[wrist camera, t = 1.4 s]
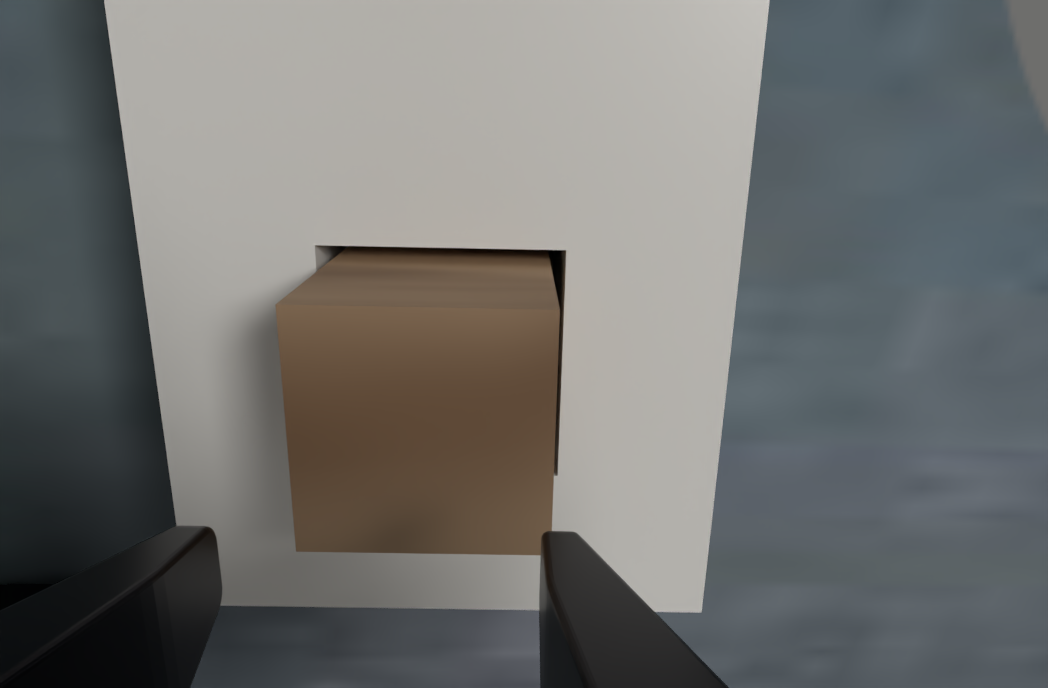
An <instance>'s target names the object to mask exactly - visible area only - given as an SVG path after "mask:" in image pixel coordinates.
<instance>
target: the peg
mask: <svg viewBox="0 0 1048 688" xmlns="http://www.w3.org/2000/svg"><path fill="white" fill-rule="evenodd" d="M275 306H276V318H277V330H278V342H279V354H280V366H281V378H282V390H283V402H284V414H285V426H286V438H287V450H288V462H289V474H290V486H291V498H292V510H293V522H294V534H295V546H296V552H349V553H415V554H482V555H541V537H542V535H543V533H545V532H547V531H552V511H553V484H554V457H555V430H556V403H557V376H558V349H559V322H560V308H559V303H558V298H557V293H556V288H555V283H554V278H553V273H552V268H551V263H550V258H549V253H548V250H526V249H476V248H426V247H375V246H348V247H347V248H346V249H345V250H343V251H342V252H341V253H340V254H338V255H337V256H336V257H335V258H333V259H332V260H331V261H329V262H328V263H327V264H326V265H324V266H323V267H322V268H321V269H319V270H318V271H317V272H316V273H314V274H313V275H312V276H311V277H309V278H308V279H307V280H306V281H304V282H303V283H302V284H301V285H299V286H298V287H297V288H296V289H294V290H293V291H292V292H290V293H289V294H288V295H287V296H285V297H284V298H283V299H282V300H280V301H279V302H278V303H277V304H275Z"/></svg>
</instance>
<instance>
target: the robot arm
mask: <svg viewBox="0 0 1048 688" xmlns="http://www.w3.org/2000/svg"><path fill="white" fill-rule="evenodd" d="M221 600H222V578H221V570H220V562H219V553H218V545H217V538H216V535H215V532H214V530H213V529H212V528H210V527H208V526H182V525H180V526H175V527H172V528H170V529H168V530H166V531H164V532H162V533H160V534H158V535H156V536H154V537H152V538H150V539H148V540H145V541H143V542H141V543H139V544H137V545H135V546H133V547H131V548H129V549H127V550H125V551H123V552H121V553H119V554H116V555H114V556H112V557H110V558H108V559H106V560H104V561H102V562H100V563H98V564H96V565H94V566H92V567H90V568H87V569H85V570H83V571H81V572H79V573H77V574H75V575H73V576H71V577H69V578H67V579H65V580H63V581H60V582H58V583H56V584H7V585H0V688H190V687H191V684H192V681H193V678H194V676H195V673H196V670H197V668H198V665H199V662H200V660H201V657H202V654H203V651H204V649H205V646H206V643H207V641H208V638H209V635H210V632H211V630H212V627H213V624H214V622H215V619H216V616H217V613H218V611H219V608H220V604H221ZM539 626H540V686H541V688H729V687H728V686H727V685H726V684H725V683H724V682H723V681H722V680H721V679H720V678H719V677H718V676H717V675H716V674H715V673H714V672H713V671H712V670H711V669H710V668H709V667H708V666H707V665H706V664H705V663H704V662H703V661H702V660H701V659H700V658H699V657H698V656H697V655H696V654H695V653H694V652H693V651H692V650H691V649H690V647H689V646H688V645H687V644H686V643H685V642H684V641H683V640H682V639H681V638H680V637H679V636H678V635H677V634H676V633H675V632H674V631H673V630H672V629H671V628H670V627H669V626H668V625H667V624H666V623H665V622H664V621H663V620H662V619H661V618H660V617H659V616H658V615H657V614H656V613H655V612H654V611H653V610H652V609H651V608H650V607H649V606H648V605H647V604H646V603H645V601H644V600H643V599H642V598H641V597H640V596H639V595H638V594H637V593H636V592H635V591H634V590H633V589H632V588H631V587H630V586H629V585H628V584H627V583H626V582H625V581H624V580H623V579H622V578H621V577H620V576H619V575H618V574H617V573H616V572H615V571H614V570H613V569H612V568H611V567H610V566H609V565H608V564H607V563H606V562H605V561H604V560H603V559H602V558H601V557H600V555H599V554H598V553H597V552H596V551H595V550H594V549H593V548H592V547H591V546H590V545H589V544H588V543H587V542H586V541H585V540H584V539H583V538H582V537H581V536H580V535H579V534H578V533H576V532H573V531H547V532H545V533H543V535H542V537H541V557H540V588H539Z"/></svg>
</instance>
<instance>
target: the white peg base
mask: <svg viewBox="0 0 1048 688" xmlns="http://www.w3.org/2000/svg"><path fill="white" fill-rule="evenodd" d="M769 1H770V0H104V4H105V11H106V18H107V25H108V33H109V40H110V47H111V54H112V62H113V69H114V76H115V84H116V91H117V98H118V105H119V113H120V120H121V127H122V134H123V142H124V149H125V156H126V163H127V171H128V178H129V185H130V192H131V200H132V207H133V214H134V221H135V229H136V236H137V243H138V250H139V258H140V265H141V272H142V279H143V287H144V294H145V301H146V308H147V316H148V323H149V330H150V337H151V345H152V352H153V359H154V366H155V374H156V381H157V388H158V395H159V403H160V410H161V417H162V424H163V432H164V439H165V446H166V453H167V461H168V468H169V475H170V482H171V490H172V497H173V504H174V511H175V519H176V526H180V525H182V526H208V527H210V528H212V529H213V530H214V532H215V535H216V538H217V545H218V553H219V562H220V570H221V578H222V600H221V604H220V606H281V607H351V608H422V609H492V610H539V588H540V557H541V555H482V554H415V553H349V552H296V546H295V534H294V522H293V510H292V498H291V486H290V474H289V462H288V450H287V438H286V426H285V414H284V402H283V390H282V378H281V366H280V354H279V342H278V330H277V318H276V306H275V304H277V303H278V302H279V301H280V300H282V299H283V298H284V297H285V296H287V295H288V294H289V293H290V292H292V291H293V290H294V289H296V288H297V287H298V286H299V285H301V284H302V283H303V282H304V281H306V280H307V279H308V278H309V277H311V276H312V275H313V274H314V273H316V272H317V271H318V270H319V269H321V268H322V267H323V266H324V265H326V264H327V263H328V262H329V261H331V260H332V259H333V258H335V257H336V256H337V255H338V254H340V253H341V252H342V251H343V250H345V249H346V248H347V247H348V246H375V247H426V248H476V249H526V250H548V253H549V258H550V263H551V268H552V273H553V278H554V283H555V288H556V293H557V298H558V303H559V308H560V322H559V349H558V376H557V403H556V430H555V457H554V484H553V511H552V531H573V532H576V533H578V534H579V535H580V536H581V537H582V538H583V539H584V540H585V541H586V542H587V543H588V544H589V545H590V546H591V547H592V548H593V549H594V550H595V551H596V552H597V553H598V554H599V555H600V557H601V558H602V559H603V560H604V561H605V562H606V563H607V564H608V565H609V566H610V567H611V568H612V569H613V570H614V571H615V572H616V573H617V574H618V575H619V576H620V577H621V578H622V579H623V580H624V581H625V582H626V583H627V584H628V585H629V586H630V587H631V588H632V589H633V590H634V591H635V592H636V593H637V594H638V595H639V596H640V597H641V598H642V599H643V600H644V601H645V603H646V604H647V605H648V606H649V607H650V608H651V609H652V610H653V611H654V612H702V604H703V595H704V586H705V577H706V568H707V559H708V550H709V541H710V532H711V523H712V514H713V505H714V496H715V487H716V478H717V469H718V460H719V451H720V442H721V433H722V424H723V415H724V406H725V397H726V388H727V379H728V370H729V361H730V352H731V343H732V334H733V325H734V316H735V307H736V298H737V289H738V280H739V271H740V262H741V253H742V244H743V235H744V226H745V217H746V208H747V199H748V190H749V181H750V172H751V163H752V154H753V145H754V136H755V127H756V118H757V109H758V100H759V91H760V82H761V73H762V64H763V55H764V46H765V37H766V28H767V19H768V10H769Z"/></svg>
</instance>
